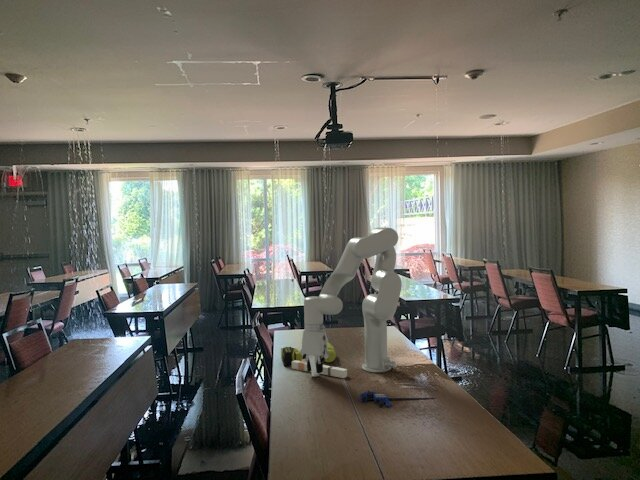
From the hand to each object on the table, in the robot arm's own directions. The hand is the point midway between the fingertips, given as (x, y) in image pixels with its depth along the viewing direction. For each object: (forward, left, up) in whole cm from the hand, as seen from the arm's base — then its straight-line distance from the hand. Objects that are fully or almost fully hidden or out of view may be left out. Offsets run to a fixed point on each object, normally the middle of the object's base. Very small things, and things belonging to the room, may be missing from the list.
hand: (315, 371), depth 180 cm
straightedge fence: (+1, -5, -2) cm, 5 cm away
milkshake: (0, 0, -2) cm, 2 cm away
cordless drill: (+18, -20, -3) cm, 27 cm away
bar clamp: (-42, +6, -3) cm, 42 cm away
